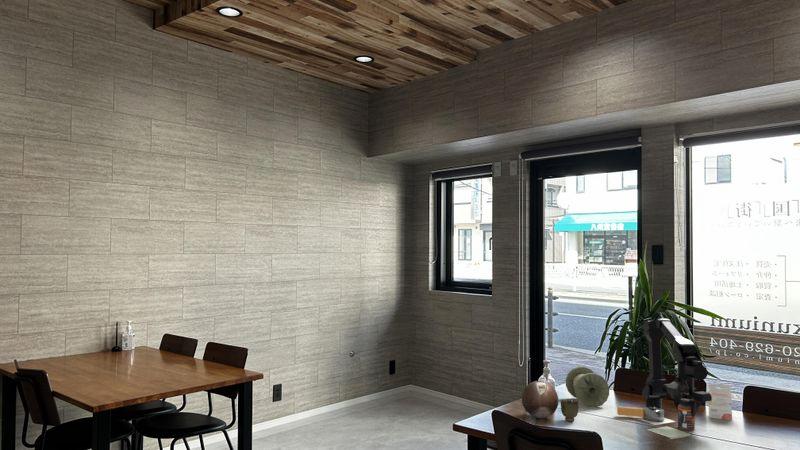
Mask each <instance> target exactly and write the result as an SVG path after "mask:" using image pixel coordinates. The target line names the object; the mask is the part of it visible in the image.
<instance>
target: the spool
mask: <svg viewBox="0 0 800 450" xmlns="http://www.w3.org/2000/svg"><path fill="white" fill-rule="evenodd" d="M565 388H566V390H567V392H568V393H569V394H570V395H571V396H572V397H574V398H575V399H577V401H578V403H579V404H581V405H582V406H584V407H587V408H589V407H590V408H592V409H593V408H594V409H595V408H599V407H601V406H603V405H604V404H605V403H607V400H608V399H609V396H610V386H609V384H608V381H607V380H606V379H605V378H604V377H603V376H601V375H600V374H598V373H595V372H594V371H593V370H592V369H591V368H589V367H586V366H577V367H573V368H571V370H570V371H569V372H568V373H567V375H566V378H565Z"/></svg>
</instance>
